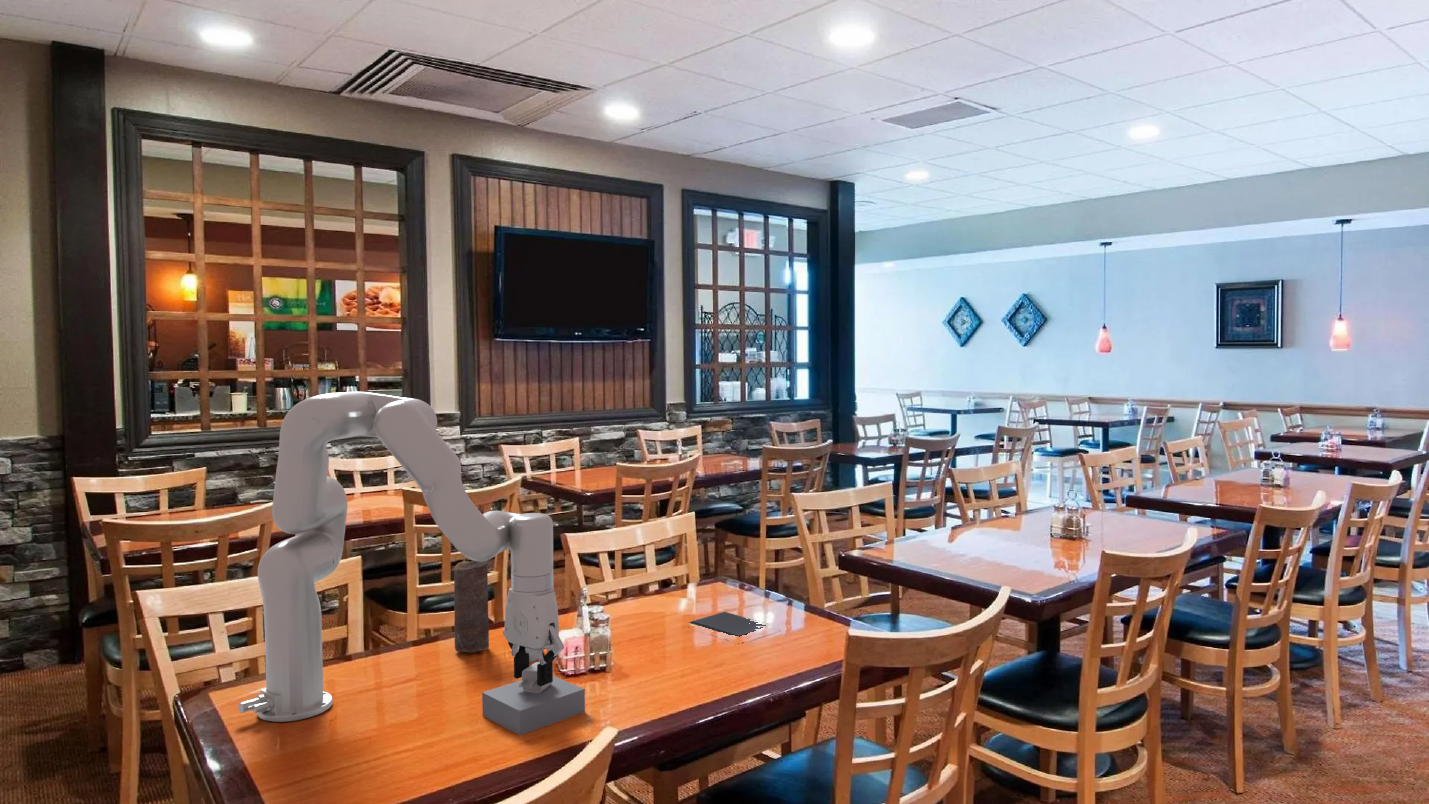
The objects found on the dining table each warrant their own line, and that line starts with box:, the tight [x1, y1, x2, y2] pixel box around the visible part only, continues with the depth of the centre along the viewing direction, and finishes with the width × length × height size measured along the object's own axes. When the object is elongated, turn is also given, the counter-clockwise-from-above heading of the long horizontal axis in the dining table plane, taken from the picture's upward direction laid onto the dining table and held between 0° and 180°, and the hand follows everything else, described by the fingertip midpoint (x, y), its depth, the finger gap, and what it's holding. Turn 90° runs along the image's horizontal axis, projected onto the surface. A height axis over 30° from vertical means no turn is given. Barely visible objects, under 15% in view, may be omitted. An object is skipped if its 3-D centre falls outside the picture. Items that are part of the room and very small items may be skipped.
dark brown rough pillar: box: [453, 560, 490, 654], centre depth 196 cm, size 8×7×20 cm
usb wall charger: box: [519, 661, 553, 693], centre depth 162 cm, size 4×7×4 cm, turn 163°
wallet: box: [688, 611, 766, 637], centre depth 214 cm, size 20×2×15 cm
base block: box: [481, 675, 586, 736], centre depth 163 cm, size 14×12×5 cm
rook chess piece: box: [526, 648, 539, 663], centre depth 191 cm, size 4×4×8 cm
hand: (533, 679), depth 162 cm, fingers open, 5 cm apart
